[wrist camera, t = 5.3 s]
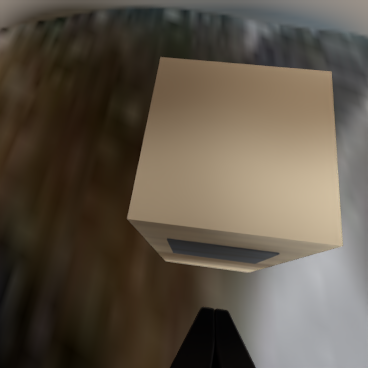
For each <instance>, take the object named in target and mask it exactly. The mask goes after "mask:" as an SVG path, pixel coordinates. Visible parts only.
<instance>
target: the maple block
mask: <svg viewBox="0 0 368 368" xmlns="http://www.w3.org/2000/svg"><path fill="white" fill-rule="evenodd" d="M127 219H128V221H129V222H130V223H131V224H132V225H133V226H134V227H135V228H136V229H137V230H138V232H139V233H140V234H141V235H142V236H143V237H144V238H145V239H146V240H147V241H148V243H149V244H150V245H151V246H152V247H153V248H154V249H155V250H156V251H157V252H158V254H159V255H160V256H161V257H162V258H163V259H164V260H165V261H166V262H174V263H181V264H188V265H196V266H203V267H211V268H218V269H226V270H233V271H240V272H248V273H249V272H253V271H256V270H260V269H263V268H267V267H270V266H274V265H277V264H281V263H285V262H288V261H292V260H295V259H299V258H302V257H306V256H309V255H313V254H317V253H320V252H324V251H327V250H331V249H334V248H338V247H341V246H343V241H342V226H341V210H340V195H339V180H338V164H337V149H336V134H335V119H334V103H333V88H332V73H331V72H330V71H318V70H306V69H295V68H283V67H271V66H260V65H248V64H236V63H224V62H213V61H201V60H189V59H178V58H166V57H160V62H159V67H158V72H157V76H156V81H155V86H154V91H153V96H152V101H151V105H150V110H149V115H148V120H147V125H146V130H145V134H144V139H143V144H142V149H141V154H140V159H139V163H138V168H137V173H136V178H135V183H134V188H133V192H132V197H131V202H130V207H129V212H128V217H127Z"/></svg>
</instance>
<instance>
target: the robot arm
mask: <svg viewBox="0 0 368 368" xmlns="http://www.w3.org/2000/svg"><path fill="white" fill-rule="evenodd" d="M170 368H256V367H255V365H254V363H253V361H252V359H251V357H250V354H249V352H248V350H247V348H246V346H245V344H244V342H243V340H242V338H241V336H240V334H239V332H238V330H237V328H236V326H235V324H234V322H233V319H232V317H231V315H230V313H229V312H228V311H227V310H223V309H215V311H214V309H213V308H209V307H201V309H200V310H199V312H198V314H197V316H196V318H195V320H194V322H193V324H192V326H191V328H190V330H189V332H188V334H187V336H186V338H185V339H184V341H183V343H182V345H181V347H180V349H179V351H178V353H177V355H176V357H175V359H174V361H173V363H172V365H171V367H170Z"/></svg>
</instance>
